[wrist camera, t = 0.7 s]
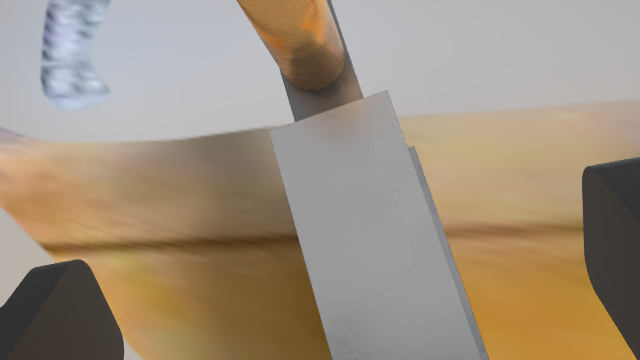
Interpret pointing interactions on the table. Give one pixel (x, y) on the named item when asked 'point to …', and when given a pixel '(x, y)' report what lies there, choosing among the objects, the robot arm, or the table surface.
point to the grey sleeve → (373, 238)
